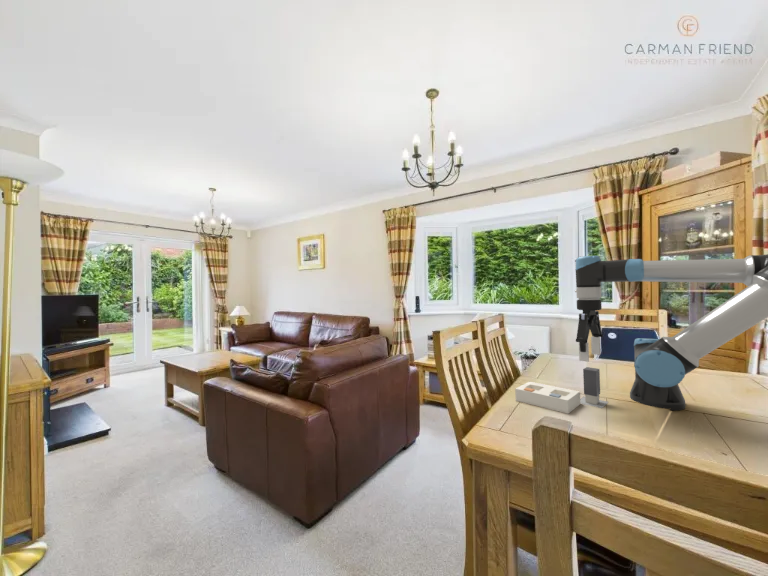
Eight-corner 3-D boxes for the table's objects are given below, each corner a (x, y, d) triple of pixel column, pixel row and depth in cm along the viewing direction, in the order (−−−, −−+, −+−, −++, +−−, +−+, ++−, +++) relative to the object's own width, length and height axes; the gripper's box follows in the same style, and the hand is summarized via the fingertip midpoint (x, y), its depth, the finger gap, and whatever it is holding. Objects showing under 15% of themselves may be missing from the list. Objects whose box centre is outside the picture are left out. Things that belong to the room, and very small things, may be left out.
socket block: (580, 405, 114) (579, 390, 114) (568, 415, 106) (567, 399, 106) (529, 393, 127) (529, 380, 127) (515, 401, 119) (515, 387, 119)
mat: (608, 403, 114) (608, 401, 114) (602, 409, 109) (602, 408, 109) (583, 398, 120) (583, 396, 120) (576, 403, 115) (576, 402, 115)
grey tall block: (600, 402, 115) (599, 368, 115) (597, 405, 112) (596, 371, 112) (587, 399, 118) (586, 367, 118) (584, 402, 115) (583, 369, 115)
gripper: (588, 297, 126) (589, 350, 126) (564, 300, 109) (566, 362, 109) (610, 297, 120) (612, 353, 120) (589, 301, 104) (591, 365, 104)
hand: (590, 357), depth 115 cm, fingers open, 13 cm apart
